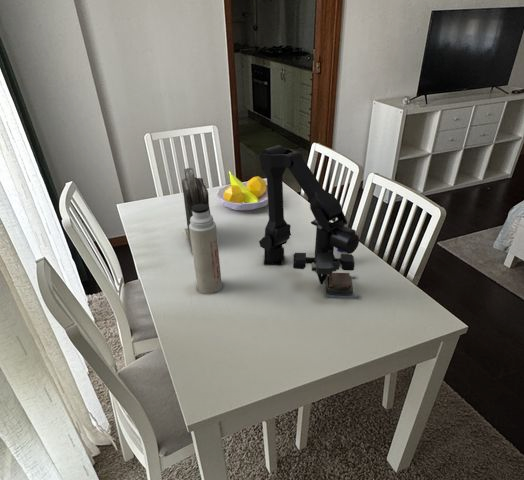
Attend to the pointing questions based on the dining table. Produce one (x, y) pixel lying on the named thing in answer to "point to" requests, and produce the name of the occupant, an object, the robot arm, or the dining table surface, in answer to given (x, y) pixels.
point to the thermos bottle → (205, 249)
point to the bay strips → (343, 296)
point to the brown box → (339, 283)
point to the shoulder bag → (193, 195)
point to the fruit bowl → (244, 194)
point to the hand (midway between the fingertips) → (321, 284)
